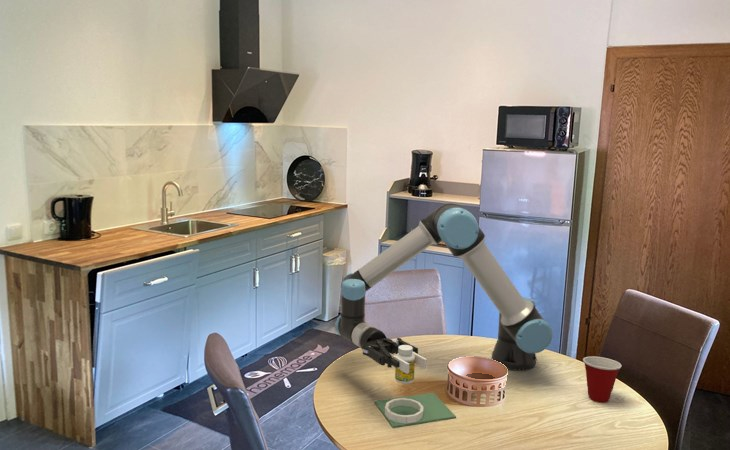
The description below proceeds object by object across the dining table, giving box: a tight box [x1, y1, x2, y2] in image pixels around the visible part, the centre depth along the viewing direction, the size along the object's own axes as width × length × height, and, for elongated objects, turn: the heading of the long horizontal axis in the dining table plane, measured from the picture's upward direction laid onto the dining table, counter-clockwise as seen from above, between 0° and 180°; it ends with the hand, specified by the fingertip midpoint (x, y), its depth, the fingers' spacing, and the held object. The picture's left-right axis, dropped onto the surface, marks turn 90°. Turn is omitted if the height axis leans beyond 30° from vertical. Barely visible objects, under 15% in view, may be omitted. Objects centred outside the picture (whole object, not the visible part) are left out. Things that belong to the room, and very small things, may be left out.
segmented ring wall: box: [385, 397, 424, 424], centre depth 162 cm, size 11×11×2 cm
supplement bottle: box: [394, 345, 416, 385], centre depth 159 cm, size 5×5×10 cm
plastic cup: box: [582, 355, 623, 404], centre depth 173 cm, size 11×11×12 cm
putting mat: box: [374, 392, 457, 429], centre depth 165 cm, size 19×15×1 cm
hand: (416, 366), depth 155 cm, fingers closed on supplement bottle, 5 cm apart
